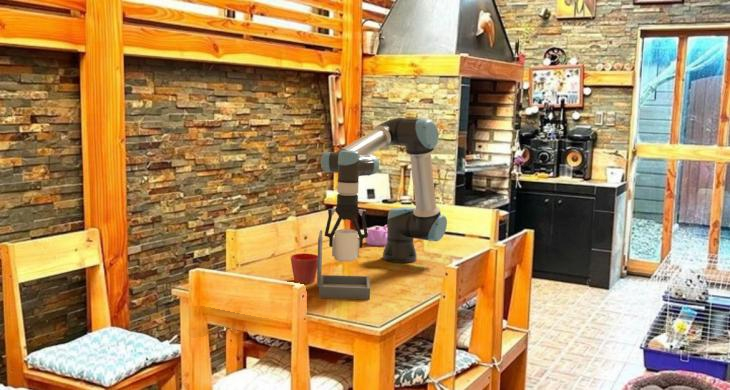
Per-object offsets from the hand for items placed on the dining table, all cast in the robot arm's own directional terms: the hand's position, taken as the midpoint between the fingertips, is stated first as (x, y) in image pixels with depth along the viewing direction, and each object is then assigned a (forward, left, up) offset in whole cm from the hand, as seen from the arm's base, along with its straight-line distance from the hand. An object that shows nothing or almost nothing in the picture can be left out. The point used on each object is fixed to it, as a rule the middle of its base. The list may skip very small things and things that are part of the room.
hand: (345, 255), depth 254 cm
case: (+1, -1, -13) cm, 14 cm away
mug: (0, 0, -1) cm, 1 cm away
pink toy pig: (-15, -89, -14) cm, 91 cm away
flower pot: (+15, -14, -14) cm, 25 cm away
